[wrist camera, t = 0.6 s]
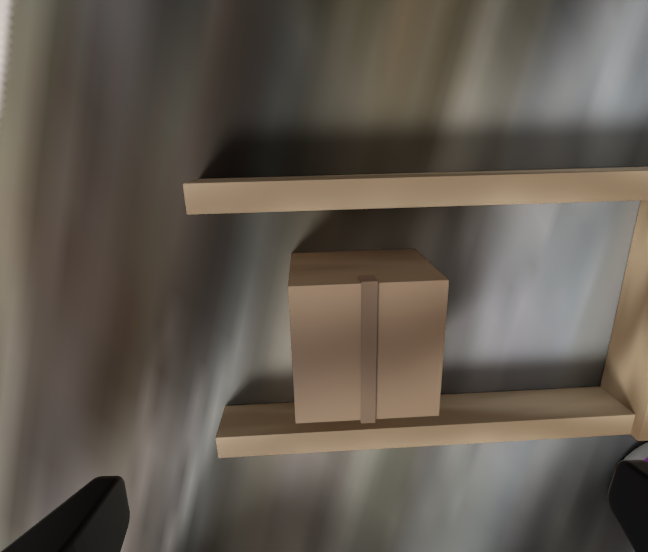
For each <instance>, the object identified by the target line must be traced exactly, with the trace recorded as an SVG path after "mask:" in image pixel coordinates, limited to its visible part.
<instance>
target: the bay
mask: <svg viewBox="0 0 648 552" xmlns="http://www.w3.org/2000/svg"><path fill="white" fill-rule="evenodd" d="M183 188H184V196H185V204H186V211H187V214H217V213H249V212H281V211H312V210H344V209H376V208H408V207H440V206H472V205H503V204H535V203H567V202H599V201H631V200H641V202H640V207H639V211H638V216H637V220H636V225H635V230H634V234H633V239H632V243H631V248H630V252H629V257H628V262H627V266H626V271H625V275H624V280H623V285H622V289H621V294H620V298H619V303H618V307H617V312H616V317H615V321H614V326H613V330H612V335H611V339H610V344H609V349H608V353H607V358H606V362H605V367H604V371H603V376H602V381H601V385H600V386H599V387H580V388H561V389H542V390H522V391H503V392H484V393H465V394H445V395H440V407H439V416H424V417H405V418H387V419H375V423H361V421H360V420H350V421H332V422H313V423H296V421H295V403H294V402H292V403H272V404H253V405H234V406H225V408H224V412H223V415H222V418H221V422H220V425H219V429H218V432H217V435H216V444H217V451H218V458H227V457H244V456H261V455H279V454H296V453H314V452H331V451H348V450H366V449H383V448H401V447H418V446H435V445H453V444H470V443H487V442H505V441H522V440H540V439H557V438H574V437H592V436H609V435H626V434H631V435H632V436H633V437H634V438H635V439H636V440H637V441H648V167H612V168H576V169H540V170H504V171H468V172H432V173H396V174H359V175H323V176H287V177H251V178H215V179H197V180H194V181H190V182H187V183H184V184H183Z"/></svg>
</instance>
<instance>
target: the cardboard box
mask: <svg viewBox="0 0 648 552" xmlns="http://www.w3.org/2000/svg"><path fill="white" fill-rule="evenodd" d="M448 288H449V279H447V278H446V277H445V276H444V275H443V274H442V273H441V272H440V271H439V270H437V269H436V268H435V267H434V266H433V265H432V264H431V263H430V262H429V261H427V260H426V259H425V258H424V257H423V256H422V255H421V254H420V253H419V252H417V251H416V250H415V249H390V250H363V251H336V252H309V253H291V263H290V273H289V282H288V295H289V313H290V331H291V349H292V367H293V385H294V403H295V421H296V423H313V422H332V421H350V420H360V421H361V423H375V419H387V418H405V417H424V416H439V407H440V394H441V381H442V368H443V354H444V341H445V328H446V315H447V301H448Z"/></svg>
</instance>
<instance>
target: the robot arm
mask: <svg viewBox="0 0 648 552" xmlns="http://www.w3.org/2000/svg"><path fill="white" fill-rule="evenodd" d="M608 501H609V505H610V508H611V510H612V512H613V513H614V515H615V517H616V519H617V520H618V522H619V524H620V526H621V527H622V529H623V531H624V533H625V534H626V536H627V538H628V540H629V541H630V543H631V545H632V547H633V548H634V550H635V552H648V462H647V461H644V460H622V461H619V462H618V463H617V465H616V467H615V470H614V474H613V477H612V481H611V484H610V488H609V491H608ZM129 518H130V511H129V505H128V499H127V494H126V488H125V483H124V480H123V478H122V477H120V476H100V477H97V478H95V479H93V480H92V481H90V482H89V483H88V484H87V485H85V486H84V487H83V488H81V489H80V490H79V491H78V492H76V493H75V494H74V495H73V496H71V497H70V498H69V499H67V500H66V501H65V502H64V503H62V504H61V505H60V506H59V507H57V508H56V509H55V510H53V511H52V512H51V513H50V514H48V515H47V516H46V517H45V518H43V519H42V520H41V521H39V522H38V523H37V524H36V525H34V526H33V527H32V528H30V529H29V530H28V531H27V532H25V533H24V534H23V535H22V536H20V537H19V538H18V539H16V540H15V541H14V542H13V543H11V544H10V545H9V546H8V547H6V548H5V549H4V550H2V551H1V552H120V551H121V548H122V545H123V541H124V538H125V535H126V532H127V528H128V524H129Z"/></svg>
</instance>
